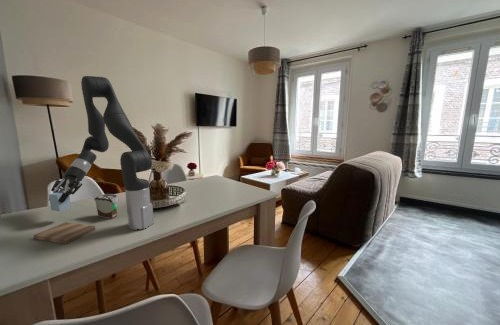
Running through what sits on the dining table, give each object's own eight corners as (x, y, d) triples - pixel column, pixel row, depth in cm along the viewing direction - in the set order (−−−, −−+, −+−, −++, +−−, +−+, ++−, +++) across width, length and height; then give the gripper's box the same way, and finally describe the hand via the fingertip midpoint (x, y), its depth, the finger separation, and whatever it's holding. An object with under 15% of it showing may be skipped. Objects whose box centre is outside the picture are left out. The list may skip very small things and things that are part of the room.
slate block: (71, 207, 102) (68, 191, 101) (59, 211, 98) (57, 195, 96) (63, 206, 104) (60, 191, 102) (51, 210, 99) (48, 194, 98)
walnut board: (95, 229, 94) (94, 226, 93) (65, 244, 82) (65, 240, 82) (66, 225, 97) (65, 222, 97) (34, 238, 86) (33, 235, 86)
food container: (125, 214, 109) (124, 195, 108) (114, 219, 104) (112, 199, 102) (107, 211, 113) (105, 192, 112) (96, 215, 108) (93, 196, 106)
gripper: (60, 165, 106) (35, 196, 97) (84, 166, 103) (60, 198, 93) (73, 173, 112) (50, 203, 103) (95, 174, 109) (74, 206, 99)
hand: (55, 201), depth 98 cm, fingers closed on slate block, 5 cm apart
